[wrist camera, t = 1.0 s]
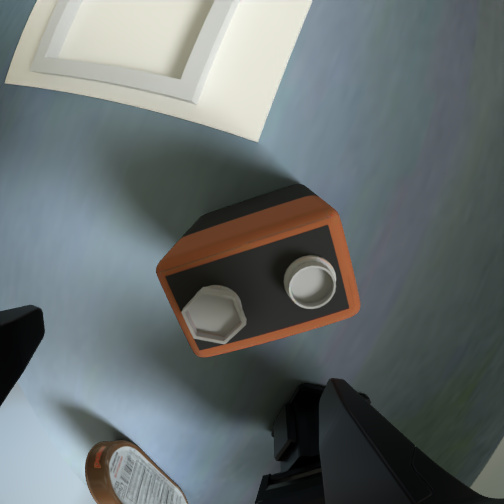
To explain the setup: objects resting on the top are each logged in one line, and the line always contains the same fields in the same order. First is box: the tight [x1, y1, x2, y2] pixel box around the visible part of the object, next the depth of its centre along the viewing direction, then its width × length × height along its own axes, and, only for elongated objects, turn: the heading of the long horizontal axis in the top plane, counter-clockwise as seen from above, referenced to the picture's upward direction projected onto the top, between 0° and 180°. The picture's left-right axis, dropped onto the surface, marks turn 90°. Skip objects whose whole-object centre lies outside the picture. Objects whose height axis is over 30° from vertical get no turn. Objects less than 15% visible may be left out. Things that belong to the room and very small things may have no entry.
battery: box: [156, 184, 360, 357], centre depth 15 cm, size 4×7×10 cm, turn 109°
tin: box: [85, 440, 188, 504], centre depth 24 cm, size 15×3×8 cm, turn 23°
